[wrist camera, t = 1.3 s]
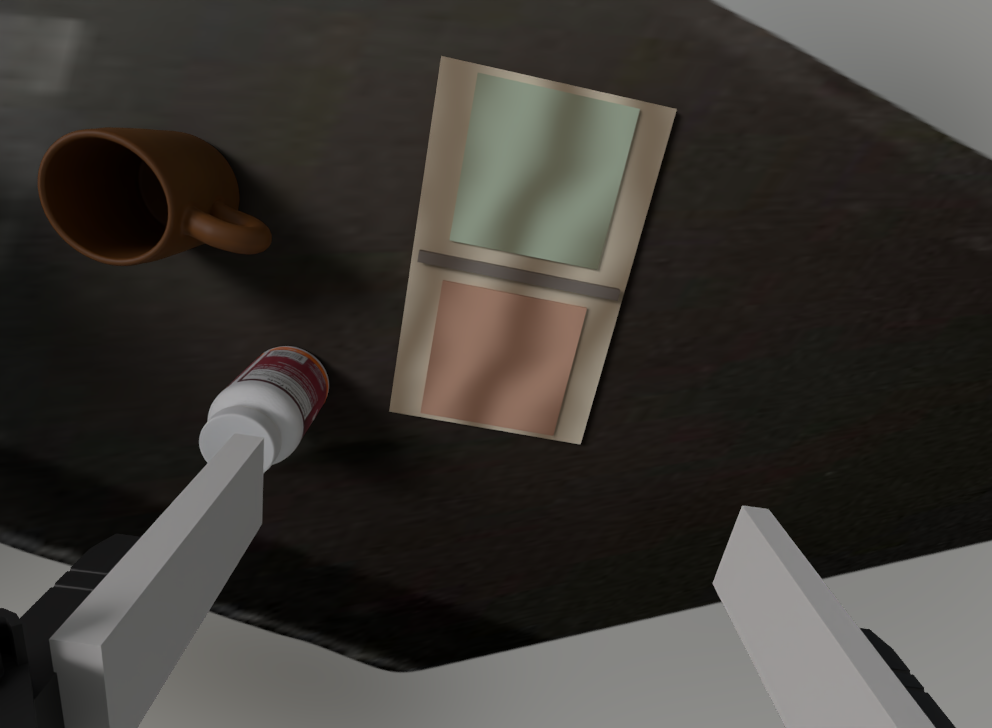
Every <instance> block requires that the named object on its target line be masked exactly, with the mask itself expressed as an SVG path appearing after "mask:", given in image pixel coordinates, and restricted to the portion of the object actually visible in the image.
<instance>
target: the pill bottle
mask: <svg viewBox="0 0 992 728" xmlns="http://www.w3.org/2000/svg"><path fill="white" fill-rule="evenodd" d="M328 392H329V379H328V375H327V373H326V370H325V368H324V367H323V365H322V364H321V362H320V361H319V360H318V359H317V358H316V357H315V356H313V355H312V354H310V353H309V352H307V351H305V350H303V349H300V348H297V347H292V346H280V347H275V348H272V349H270V350H268V351H266V352H264V353H263V354H261V355H260V356H259V357H258V358H257V359H256V360H255V361H254V362H252V363H251V364H250V365H249V366H248V367H247V368H246V369H245V370H244V371H243V372H242V373H241V374H240V375H239V376H238V377H237V378H236V379H234V380H233V381H232V382H231V383H230V384H229V385H228V386H227V387H226V388H225V389H224V390H223V391H222V392H221V393H220V394H219V395H218V396H217V397H216V399H215V400H214V401H213V403H212V405H211V407H210V410H209V413H208V421H207V423H206V424H205V425H204V427H203V429H202V430H201V433H200V437H199V446H200V450H201V453H202V455H203V457H204V459H205V460H206V462H207V463H208V462H209V461H210V460H211V459H212V458H213V457H214V456H215V455H216V453H217V452H218V451H219V450H220V449H221V448H222V447H223V446H224V445H225V443H226V442H227V441H228V440H229V439H230V438H231V437H232V436H233V435H234V433H235V434H242V435H249V436H256V437H263V438H264V464H263V473H264V472H266V471H267V470H268V469H269V468H270V466H271V465H273V464H276V463H279V462H281V461H282V460H284V459H286V458H287V457H288V456H289V455H290V454H291V453H292V452H293V451H294V450H295V449H296V447H297V446H298V444H299V443H300V441H301V440H302V438H303V436H304V435H305V433H306V432H307V430H308V428H309V427H310V425H311V423H312V422H313V420H314V419H315V417H316V415H317V414H318V412H319V411H320V409H321V407H322V406H323V404H324V403H325V400H326V398H327V395H328Z"/></svg>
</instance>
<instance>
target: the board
mask: <svg viewBox="0 0 992 728" xmlns="http://www.w3.org/2000/svg"><path fill="white" fill-rule="evenodd" d="M676 110H677V109H674V108H669V107H665V106H660V105H656V104H652V103H647V102H643V101H638V100H634V99H629V98H625V97H621V96H616V95H612V94H607V93H603V92H598V91H594V90H590V89H585V88H581V87H576V86H572V85H568V84H563V83H559V82H554V81H550V80H545V79H541V78H537V77H532V76H528V75H523V74H519V73H514V72H510V71H506V70H501V69H497V68H492V67H488V66H483V65H479V64H475V63H470V62H466V61H461V60H457V59H452V58H448V57H444V56H441V62H440V69H439V76H438V82H437V89H436V96H435V103H434V110H433V116H432V123H431V130H430V137H429V144H428V151H427V157H426V164H425V171H424V178H423V185H422V191H421V198H420V205H419V212H418V219H417V226H416V232H415V239H414V246H413V253H412V260H411V267H410V273H409V280H408V287H407V294H406V301H405V307H404V314H403V321H402V328H401V335H400V342H399V348H398V355H397V362H396V369H395V376H394V382H393V389H392V396H391V403H390V410H389V412H395V413H401V414H407V415H413V416H418V417H424V418H430V419H436V420H442V421H447V422H453V423H459V424H465V425H471V426H476V427H482V428H488V429H494V430H500V431H505V432H511V433H517V434H523V435H529V436H534V437H540V438H546V439H552V440H558V441H563V442H569V443H575V444H581V441H582V438H583V434H584V431H585V427H586V424H587V420H588V417H589V413H590V410H591V407H592V403H593V400H594V396H595V393H596V389H597V386H598V382H599V379H600V375H601V372H602V368H603V365H604V361H605V358H606V354H607V351H608V347H609V344H610V340H611V337H612V333H613V330H614V326H615V323H616V319H617V316H618V312H619V309H620V305H621V302H622V298H623V295H624V292H625V288H626V285H627V281H628V278H629V274H630V271H631V267H632V264H633V260H634V257H635V253H636V250H637V246H638V243H639V239H640V236H641V232H642V229H643V225H644V222H645V218H646V215H647V211H648V208H649V204H650V201H651V197H652V194H653V190H654V187H655V183H656V180H657V177H658V173H659V170H660V166H661V163H662V159H663V156H664V152H665V149H666V145H667V142H668V138H669V135H670V131H671V128H672V124H673V121H674V117H675V114H676Z"/></svg>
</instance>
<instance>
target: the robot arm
mask: <svg viewBox="0 0 992 728" xmlns="http://www.w3.org/2000/svg"><path fill="white" fill-rule="evenodd" d="M263 464H264V438H263V437H256V436H249V435H242V434H235V433H234V435H233V436H232V437H231V438H230V439H229V440H228V441H227V442H226V443H225V445H224V446H223V447H222V448H221V449H220V450H219V451H218V452H217V453H216V455H215V456H214V457H213V458H212V459H211V460H210V461H209V462H208V463H207V465H206V466H205V467H204V468H203V469H202V470H201V471H200V472H199V473H198V475H197V476H196V477H195V478H194V479H193V480H192V481H191V482H190V483H189V485H188V486H187V487H186V488H185V489H184V490H183V491H182V492H181V493H180V495H179V496H178V497H177V498H176V499H175V500H174V501H173V502H172V503H171V504H170V506H169V507H168V508H167V509H166V510H165V511H164V512H163V513H162V514H161V516H160V517H159V518H158V519H157V520H156V521H155V522H154V523H153V524H152V526H151V527H150V528H149V529H148V530H147V531H146V532H145V533H144V534H143V536H142V537H138V536H130V535H122V534H115V535H113V536H111V537H110V538H108V539H106V540H104V541H103V542H101V543H99V544H97V545H95V546H94V547H92V548H90V549H89V550H88V551H87V552H86V553H85V554H84V555H83V556H82V557H81V558H80V559H79V560H78V561H77V562H76V563H75V564H74V565H73V566H72V567H71V569H70V571H69V572H68V571H67V572H66V573H65V574H64V575H63V576H62V577H61V578H60V579H59V580H58V581H57V582H56V583H55V586H54V587H53V588H50V589H49V590H48V591H47V592H46V593H45V594H44V595H43V596H42V597H41V598H40V599H39V600H38V601H37V602H36V603H35V604H34V605H33V606H32V607H31V608H30V609H29V610H28V611H27V612H26V613H25V614H24V615H23V616H22V617H21V618H20V619H19V617H18V616H17V614H16V613H13V612H11V611H9V610H6V609H4V608H0V728H137V727H138V726H139V724H140V722H141V721H142V719H143V718H144V716H145V714H146V713H147V711H148V710H149V708H150V706H151V705H152V703H153V701H154V700H155V698H156V696H157V695H158V693H159V692H160V690H161V688H162V687H163V685H164V683H165V682H166V680H167V678H168V677H169V675H170V674H171V672H172V670H173V669H174V667H175V665H176V664H177V662H178V660H179V659H180V657H181V655H182V654H183V652H184V651H185V649H186V647H187V646H188V644H189V642H190V641H191V639H192V638H193V636H194V634H195V633H196V631H197V629H198V628H199V626H200V624H201V623H202V621H203V619H204V618H205V616H206V615H207V613H208V611H209V610H210V608H211V606H212V605H213V603H214V602H215V600H216V598H217V597H218V595H219V593H220V592H221V590H222V588H223V587H224V585H225V584H226V582H227V580H228V579H229V577H230V575H231V574H232V572H233V570H234V569H235V567H236V566H237V564H238V562H239V561H240V559H241V557H242V556H243V554H244V553H245V551H246V549H247V548H248V546H249V544H250V543H251V541H252V539H253V538H254V536H255V535H256V533H257V531H258V530H259V528H260V526H261V525H262V505H263ZM713 585H714V587H715V589H716V591H717V593H718V595H719V597H720V599H721V601H722V603H723V605H724V607H725V609H726V611H727V613H728V615H729V617H730V619H731V621H732V623H733V625H734V627H735V629H736V631H737V633H738V634H739V637H740V639H741V641H742V643H743V645H744V647H745V649H746V651H747V653H748V655H749V657H750V658H751V660H752V662H753V664H754V666H755V668H756V670H757V672H758V674H759V676H760V678H761V680H762V682H763V684H764V686H765V688H766V690H767V692H768V694H769V696H770V698H771V700H772V702H773V704H774V706H775V708H776V710H777V712H778V714H779V716H780V718H781V720H782V722H783V724H784V726H785V728H955V727H954V725H953V724H952V722H951V721H950V720H949V719H948V717H947V716H946V715H945V714H944V712H943V711H942V710H941V709H940V707H939V706H938V705H937V704H936V702H935V701H934V700H933V699H932V697H931V696H930V695H929V694H928V693H925V692H924V687H923V686H922V685H921V684H920V682H919V681H918V680H917V679H916V677H915V676H914V675H911V674H910V670H909V669H908V668H907V666H906V665H905V664H904V663H903V661H902V660H901V659H900V658H899V656H898V655H897V654H896V653H895V652H894V650H893V649H892V648H891V647H890V646H889V645H887V644H886V643H885V642H884V641H883V640H881V639H880V638H879V637H878V636H877V635H876V634H874V633H873V632H872V631H871V630H870V629H863V628H859V627H858V626H857V624H856V623H855V622H854V620H853V619H852V618H851V616H850V615H849V614H848V613H847V611H846V610H845V609H844V607H843V606H842V605H841V603H840V602H839V601H838V599H837V598H836V597H835V596H834V594H833V593H832V592H831V590H830V589H829V588H828V586H827V585H826V584H825V582H824V581H823V580H822V579H821V577H820V576H819V575H818V573H817V572H816V571H815V569H814V568H813V567H812V565H811V564H810V563H809V562H808V560H807V559H806V558H805V556H804V555H803V554H802V552H801V551H800V550H799V548H798V547H797V546H796V545H795V543H794V542H793V541H792V539H791V538H790V537H789V535H788V534H787V533H786V531H785V530H784V529H783V528H782V526H781V525H780V524H779V522H778V521H777V520H776V518H775V517H774V516H773V514H772V513H771V512H770V511H769V509H763V508H756V507H749V506H742V508H741V510H740V513H739V515H738V518H737V521H736V523H735V526H734V528H733V531H732V534H731V536H730V539H729V541H728V544H727V547H726V549H725V552H724V555H723V557H722V560H721V562H720V565H719V568H718V570H717V573H716V575H715V578H714V581H713Z"/></svg>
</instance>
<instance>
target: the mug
mask: <svg viewBox="0 0 992 728" xmlns="http://www.w3.org/2000/svg"><path fill="white" fill-rule="evenodd" d="M38 192H39V197H40V201H41V205H42V207H43V210H44V212H45V214H46V216H47V218H48V220H49V222H50V223H51V225H52V226H53V228H54V229H55V230H56V232H57V233H58V234H59V235H60V236H61V237H62V238H63V239H64V240H65V241H66V242H67V243H68V244H69V245H70V246H71V247H73V248H74V249H75V250H77V251H78V252H80V253H81V254H83V255H85V256H87V257H89V258H91V259H93V260H96V261H98V262H101V263H105V264H109V265H116V266H130V265H137V264H141V263H147V262H152V261H156V260H160V259H163V258H166V257H169V256H172V255H175V254H178V253H180V252H183V251H186V250H189V249H191V248H194V247H197V246H200V245H203V244H205V243H206V244H208V245H210V246H212V247H215V248H218V249H222V250H225V251H229V252H234V253H239V254H257V253H260V252H263V251H265V250H266V249H267V248H268V247H269V246H270V244H271V242H272V235H271V232H270V229H269V228H268V227H267V226H266V225H265V224H264V223H263V222H262V221H260V220H259V219H257V218H255V217H253V216H251V215H248V214H246V213H243V212H241V211H238V208H239V201H240V200H239V187H238V183H237V179H236V177H235V174H234V172H233V170H232V168H231V166H230V165H229V163H228V162H227V160H226V159H225V158H224V157H223V156H222V154H221V153H220V152H219V151H218V150H216V149H215V148H214V147H213V146H212V145H210V144H209V143H207V142H205V141H204V140H202V139H200V138H198V137H196V136H193V135H190V134H187V133H182V132H176V131H163V130H151V129H134V128H98V129H85V130H78V131H74V132H71V133H69V134H66V135H64V136H62V137H61V138H60V139H58V140H57V141H56V142H55V143H53V144H52V145H51V146H50V148H49V149H48V150H47V152H46V153H45V155H44V157H43V159H42V161H41V164H40V168H39V173H38Z"/></svg>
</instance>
